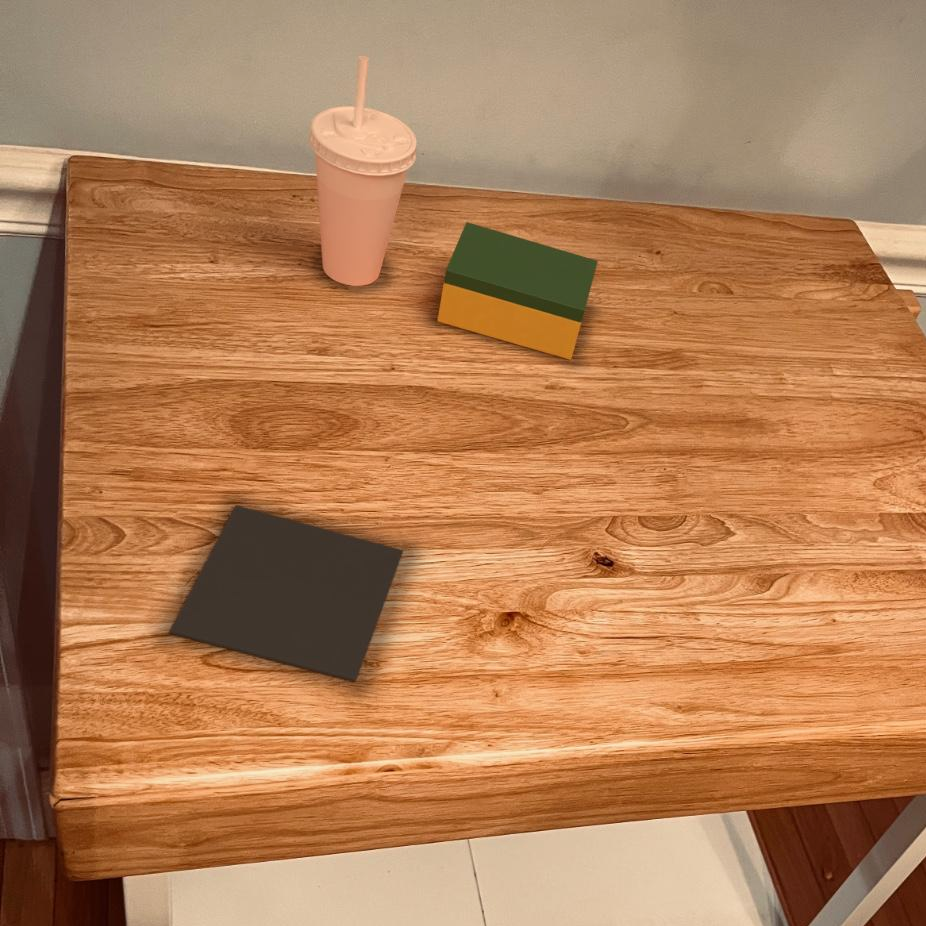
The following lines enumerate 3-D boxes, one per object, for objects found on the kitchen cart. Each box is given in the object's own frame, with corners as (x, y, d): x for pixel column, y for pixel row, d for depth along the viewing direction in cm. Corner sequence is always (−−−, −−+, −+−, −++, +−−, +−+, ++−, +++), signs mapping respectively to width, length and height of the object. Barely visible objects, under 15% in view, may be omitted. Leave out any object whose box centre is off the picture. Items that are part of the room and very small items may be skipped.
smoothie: (346, 229, 81) (364, 25, 71) (419, 274, 80) (449, 72, 70) (280, 263, 77) (290, 51, 67) (356, 311, 76) (378, 102, 65)
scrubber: (437, 321, 77) (445, 269, 74) (457, 272, 81) (466, 221, 78) (570, 360, 78) (584, 310, 75) (584, 309, 82) (598, 260, 79)
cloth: (169, 633, 56) (169, 631, 56) (235, 507, 62) (235, 504, 62) (355, 682, 57) (355, 679, 57) (402, 552, 63) (402, 550, 63)
